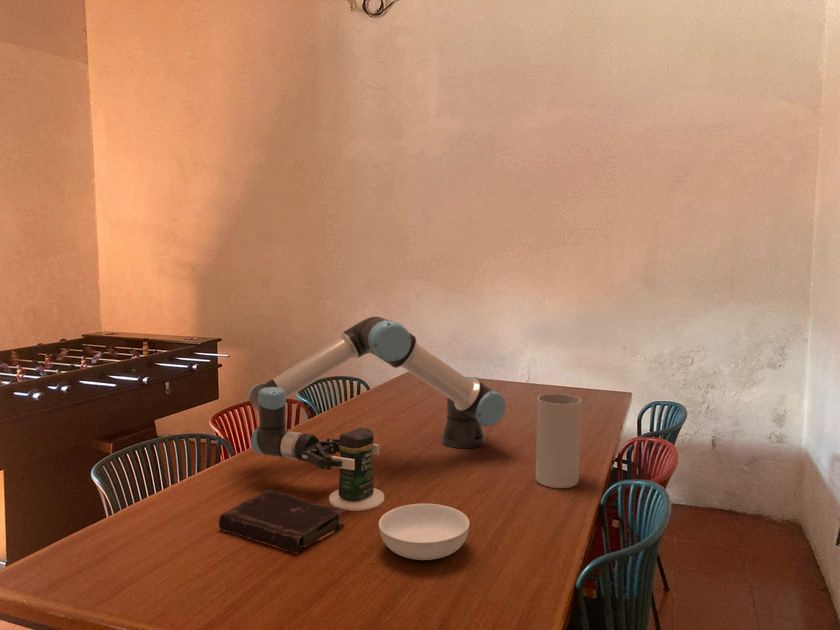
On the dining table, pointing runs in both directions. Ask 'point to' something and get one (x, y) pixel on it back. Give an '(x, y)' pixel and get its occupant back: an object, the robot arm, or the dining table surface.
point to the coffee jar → (356, 465)
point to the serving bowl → (424, 530)
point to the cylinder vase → (558, 440)
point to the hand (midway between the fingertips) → (366, 457)
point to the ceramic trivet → (361, 505)
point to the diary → (281, 520)
